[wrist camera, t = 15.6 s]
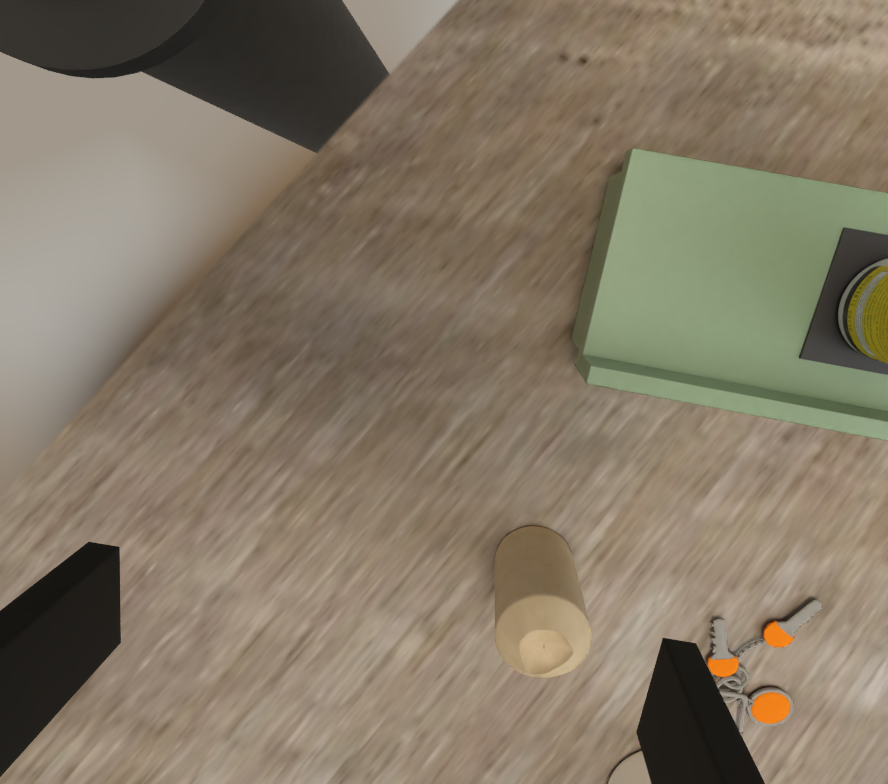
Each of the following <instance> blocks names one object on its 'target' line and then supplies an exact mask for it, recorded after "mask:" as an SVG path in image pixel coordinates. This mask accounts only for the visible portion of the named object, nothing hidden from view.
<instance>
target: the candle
mask: <svg viewBox="0 0 888 784" xmlns="http://www.w3.org/2000/svg"><path fill="white" fill-rule="evenodd" d="M591 640H592V634H591V628H590V624H589V620H588V616H587V612H586V608H585V604H584V600H583V596H582V592H581V588H580V584H579V580H578V576H577V572H576V568H575V564H574V560H573V556H572V553H571V550H570V548H569V546H568V545H567V543H566V542H565V540H564V539H563V538H562V537H561V536H560V535H558V534H557V533H556V532H554V531H552V530H550V529H547V528H544V527H539V526H528V527H523V528H519V529H517V530H515V531H513V532H511V533H510V534H508V535H507V536H506V537H505V538H504V539H503V540H502V542H501V543H500V545H499V547H498V549H497V552H496V556H495V641H496V646H497V649H498V651H499V653H500V655H501V656H502V658H503V659H504V660H505V662H506V663H507V664H508V665H510V666H511V667H512V668H513V669H515V670H517V671H518V672H520V673H523V674H525V675H528V676H532V677H538V678H550V677H556V676H560V675H563V674H566V673H568V672H570V671H572V670H573V669H575V668H576V667H577V666H578V665H579V664H580V663H581V662H582V661H583V660H584V659H585V657H586V656H587V654H588V652H589V649H590V646H591Z"/></svg>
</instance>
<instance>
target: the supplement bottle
mask: <svg viewBox="0 0 888 784" xmlns="http://www.w3.org/2000/svg"><path fill="white" fill-rule="evenodd" d="M838 322H839V327H840V330H841V333H842V335H843V337H844V339H845V340H846V341H847V343H848V344H849V345H850V346H851V347H852V348H853V349H854V350H856V351H857V352H858V353H860V354H862V355H864V356H867V357H869V358H872V359H874V360H877V361H880V362H883V363H887V364H888V259H884V260H881V261H879V262H876V263H874V264H872V265H871V266H869V267H867V268H866V269H864V270H863V271H862V272H860V273H859V274H858V275H857V276H856V277H855V278H854V279H853V280H852V281H851V282H850V284H849V285H848V287H847V288H846V290H845V292H844V294H843V296H842V298H841V301H840V305H839V310H838Z"/></svg>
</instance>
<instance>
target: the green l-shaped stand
mask: <svg viewBox="0 0 888 784" xmlns="http://www.w3.org/2000/svg"><path fill="white" fill-rule="evenodd" d="M884 259H888V193H886V192H880V191H874V190H869V189H863V188H857V187H852V186H846V185H840V184H835V183H829V182H823V181H818V180H812V179H806V178H801V177H795V176H789V175H784V174H778V173H773V172H767V171H761V170H756V169H750V168H744V167H739V166H733V165H727V164H722V163H716V162H710V161H705V160H699V159H693V158H688V157H682V156H676V155H671V154H665V153H659V152H654V151H648V150H642V149H637V148H632V149H630V150H629V151H627V152H626V155H625V159H624V163H623V168H622V171H621V172H619V173H617V174H615V175H613V176H611V177H610V178H609V181H608V185H607V190H606V194H605V198H604V202H603V207H602V211H601V215H600V219H599V224H598V228H597V232H596V236H595V241H594V245H593V249H592V253H591V257H590V262H589V266H588V270H587V274H586V279H585V283H584V287H583V291H582V296H581V300H580V304H579V308H578V312H577V317H576V321H575V325H574V329H573V334H572V338H571V339H572V341H573V342H574V343H575V344H576V346H577V347H578V348H579V350H578V354H577V359H576V363H575V366H576V367H577V369H578V371H579V372H580V374H581V376H582V377H583V379H584V380H585V382H586V383H587V384H591V385H597V386H602V387H607V388H612V389H618V390H623V391H628V392H633V393H639V394H644V395H649V396H654V397H660V398H665V399H670V400H675V401H681V402H686V403H691V404H696V405H702V406H707V407H712V408H718V409H723V410H728V411H733V412H739V413H744V414H749V415H754V416H760V417H765V418H770V419H775V420H781V421H786V422H791V423H796V424H802V425H807V426H812V427H817V428H823V429H828V430H833V431H839V432H844V433H849V434H854V435H860V436H865V437H870V438H875V439H881V440H886V441H888V364H887V363H883V362H880V361H877V360H874V359H872V358H869V357H867V356H864V355H862V354H860V353H858V352H857V351H856V350H854V349H853V348H852V347H851V346H850V345H849V344H848V343H847V341H846V340H845V339H844V337H843V335H842V333H841V330H840V327H839V322H838V310H839V305H840V301H841V298H842V296H843V294H844V292H845V290H846V288H847V287H848V285H849V284H850V282H851V281H852V280H853V279H854V278H855V277H856V276H857V275H858V274H859V273H860V272H862V271H863V270H864V269H866V268H867V267H869V266H871V265H872V264H874V263H876V262H879V261H881V260H884Z"/></svg>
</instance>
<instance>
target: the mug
mask: <svg viewBox="0 0 888 784" xmlns="http://www.w3.org/2000/svg"><path fill="white" fill-rule="evenodd" d="M608 784H651V781H650V777H649V774H648V770H647V767H646V763H645V760H644V756H643V753H642V751H639V752H637V753H635V754H633V755H631V756H629V757H628V758H626V759H625V760H624V761H622V762H621V763H620V764H619V765H618V766H617V768H616V769H615V770H614V772H613V774H612V775H611V777H610V779H609V782H608Z"/></svg>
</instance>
